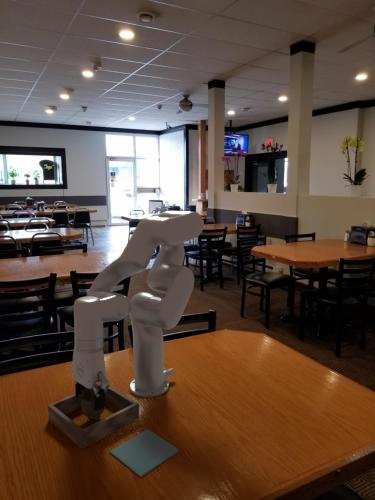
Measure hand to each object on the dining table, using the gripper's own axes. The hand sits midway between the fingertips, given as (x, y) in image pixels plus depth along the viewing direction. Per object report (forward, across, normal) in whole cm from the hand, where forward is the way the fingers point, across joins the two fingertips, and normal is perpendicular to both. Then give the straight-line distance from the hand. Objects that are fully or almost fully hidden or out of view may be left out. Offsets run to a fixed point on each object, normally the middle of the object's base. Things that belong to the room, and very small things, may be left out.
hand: (90, 401), depth 106 cm
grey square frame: (+6, 0, +1) cm, 6 cm away
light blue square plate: (+6, +21, +2) cm, 22 cm away
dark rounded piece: (+6, 0, +1) cm, 6 cm away
